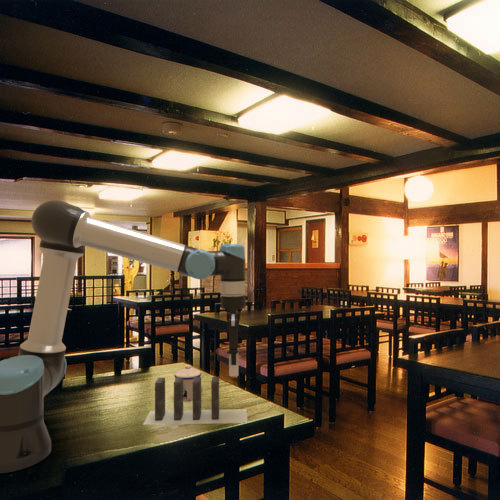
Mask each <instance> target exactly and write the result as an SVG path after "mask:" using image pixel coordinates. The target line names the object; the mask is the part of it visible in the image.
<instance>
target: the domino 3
mask: <svg viewBox="0 0 500 500" xmlns="http://www.w3.org/2000/svg"><path fill="white" fill-rule="evenodd" d="M201 384H202V377H201V376H200V377H194V380H193V401H192V410H193V420H200V416H201V410H202V394H201Z"/></svg>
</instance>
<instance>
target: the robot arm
mask: <svg viewBox="0 0 500 500" xmlns="http://www.w3.org/2000/svg"><path fill="white" fill-rule="evenodd" d="M31 227H32V229H33V232H34V233H35V235H36V236H37V237H38V238H40V242H39V249H40V251H41V252H42V253H43V259H42V263H41V270H40V274H39V275H40V276H39V279H38V280H39V281H38V285H37V289H36V294H35V300H34V306H33V310H32V316H31V321H30V326H29V332H28V337H27V338H26V340H25V341H24V342H22V343H21V344H20V345H19V348H18V349H19V350H18V355H16V356H11V357H9V358H5V359H3V360H0V474H8V473H13V472H16V471H21V470H23V469H27V468H29V467H32V466H34V465H36V464H38V463H40V462H42V461H43V460H45V459H46V458H47V457H48V456H49V455H50V454H51V452H52V439H51V437H50V434H49V430H48V429H47V426H46V424H45V422H44V398H45V396H46V395H48V394H49V393H50V392H51V391H52V390H53V389H54V388H56V387H57V386H58V385H59V384H60V383H61V382H62V381H63V378H64V376H65V374H66V371H67V359H66V357H65V356H66V355H65V353H66V349H67V346H66V345H65V344H64V343H63V341H62V340H63V336H64V329H65V326H66V325H65V324H66V318H67V314H68V310H69V309H68V308H69V304H70V299H71V293H72V288H73V282H74V277H75V273H76V266H77V261H78V260H79V258H81V257H83V256H84V254H85V249H86V247H87V248H91V249H95V250H98V251H102V252H104V253H108V254H112V255H116V256H120V257H123V258H126V259H129V260H133V261H136V262H140V263H144V264H147V265H150V266H151V265H152V266H154V267H157V268H162V269H164V270H168V271H173V272H176V273H178V274H180V275H181V276H182V277H190V278H193V279H197V280H206V279H207V278H208V277H209V278H210V277H215V276H217V277H219V276H220V282H219V287H220V288H219V289H220V291H219V292H220V295H221V296H220V308H221V309H223V310H229V311H228V313H226V322H227V330H228V351H226V354H227V355H228V376H229V377H231V376H239V368H240V367H239V349H240V348H241V344H239V339H238V338H239V337H238V334H239V333H238V330H240V321H241V316H240V315H241V314H240V313H238V310H242V309H245V308H246V304H247V303H246V302H247V301H246V300H247V299H246V296H245V294H246V288H247V287H248V283H246V253H245V247H244V245H243V244H240V243H227V244H226V243H223V244H220V246H219V250H205V249H202V248H201V249H200V248H196V247H193V246H189V245H186V244H183V243H179V242H177V241H172V240H169V239H165V238H163V237H160V236H156V235H153V234H149V233H146V232H143V231H139V230H135V229H133V228H130V227H126V226H122V225H120V224H116V223H112V222H109V221H105V220H103V219H100V218H96V217H93V216H91V213H90V212H89V211H86V210H84V209H82V208H81V207H79V206H76V205H73V204H70V203H69V202H66V201H64V200H60V199H59V200H58V199H51V200H47V201H45V202H42V203H41V204H39V205H38V206H37V207H36V208H35V210H34V211H33V213H32V216H31Z"/></svg>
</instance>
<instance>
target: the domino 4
mask: <svg viewBox="0 0 500 500" xmlns="http://www.w3.org/2000/svg"><path fill="white" fill-rule="evenodd" d="M210 382H211V384H210V385H211V392H210V394H211V400H210V401H211V403H210V404H211V410H212V420H218V419H219V410H220V376H212V378H211V381H210Z"/></svg>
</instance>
